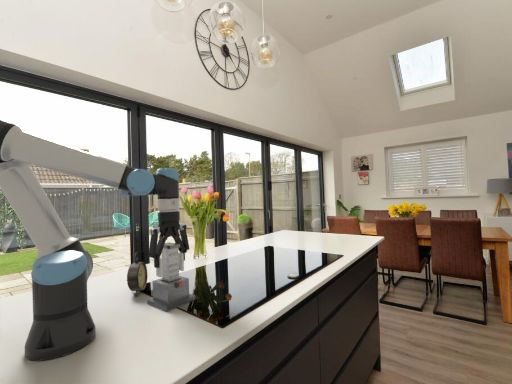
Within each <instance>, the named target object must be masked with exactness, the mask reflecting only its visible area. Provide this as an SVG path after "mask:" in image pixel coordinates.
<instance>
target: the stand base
mask: <svg viewBox="0 0 512 384" xmlns="http://www.w3.org/2000/svg"><path fill="white" fill-rule="evenodd" d="M194 301H196V295H194V294H192V293H190V279H189V277H186V276H185V277H184V276H181V275H179V280H177V281H174V282H171V283H166V282H163V281H162V277H160V278H158V279H154V280H152V297H151V298H150V297H149V298H147V299H146V304H147V305H149V306H151V307H154V308H155V309H159V310H161V311H163V312H166V313H167V312H170V311H173V310H175V309H177V308H179V307H181V306H184V305H186V304H188V303H191V302H194Z"/></svg>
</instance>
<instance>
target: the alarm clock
mask: <svg viewBox="0 0 512 384" xmlns="http://www.w3.org/2000/svg"><path fill="white" fill-rule="evenodd" d="M138 254H139V252H137V251H136V252H135V254H134V261H135V262H133V263H131V264H130V266H129V267H128V269H127V274H126V283H127V286H128V289H129V290H130V291H131V293H133V292H135V297H138V294H139V292H140V291H144V290H146V289H145V288H146V286H147V284H148V268H147V264H146V263H145V262H144V261H139V260H138V258H139V255H138ZM138 261H139V262H138Z"/></svg>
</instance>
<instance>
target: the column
mask: <svg viewBox="0 0 512 384" xmlns="http://www.w3.org/2000/svg"><path fill="white" fill-rule="evenodd" d="M179 247H180V244H177V243H175V242H165V244H164V247H163V250H162V253H161V258H162V269H163V277H161V278H162V281H163V282H166V283H171V282H174V281H177V280H179V276H180V270H179V254H178V253H179V250H178V248H179Z"/></svg>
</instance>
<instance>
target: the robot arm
mask: <svg viewBox="0 0 512 384" xmlns="http://www.w3.org/2000/svg"><path fill="white" fill-rule="evenodd" d="M31 166H36V167H39V168H43V169H46V170H50V171H54V172H56V173H57V172H58V173H60V174H64V175H67V176H72V177H73V178H78V179H82V180H85V181H89V182H92V183H96V184H99V185H103V186H106V187H110V188H114V189H117V190H119V193H120V194H119V195H120V196H124V197H125V196H127V197H134V196H136V197H137V196H157V210H158V211H159V212H158V213H157V221H158V226H157V227H156V228H150V230H149V231H150V240H149V241H150V242H149V249H148V255H147V256H148V258H153V266H154V267H153V268H155V272H156V273H155V274H156V275H155V276H156V277H158V278H162V277H163V269H162V250H163V247H164V244H165V243H167V242H166V241H168V238H170V237H171V238H173V241H174V243H177V244H180V247H179V248H178V254H179V272H181V271H182V272H184V270H185V263H184V262H185V261H186V253H188V251H189V250H190V243H189V240H188V234H187V228H188V227H187V225H186V224H180V221H181V217H180V211H179V210H180V185H179V184H180V180H179V172H178V170H177V169H176V168H172V167H171V168H168V167H164V168H163V167H162V168H158V169H157V170H156V173H151V172H150V171H149V170H147V169H144V168H137V167H134V166H131V165H126V164H125V163H121V162H118V161H115V160H112V159H109V158H106V157H102V156H101V155H96V154H94V153H90V152H88V151H85V150H81V149H78V148H76V147H73V146H70V145H66V144H63V143H60V142H57V141H53V140H51V139H47V138H44V137H41V136H38V135H36V134H32V133H30V132H26V131H25V130H24V129H23V127H22V126H20V125H18V124H16V123H12V122H9V121H7V120H4V119H1V118H0V190H1V192H2V193H3V195H4V196H5V198H6V200H7V201H8V203H9V205H10V206H11V208H12V210H13V212H14V213H15V215H16V216H17V219H19V221H20V223H21V224H22V226H23V228H24V230H25V232H26V234H27V235H28V237H29V239H30V240H31V241H32V243H33V245H34V246H35V249H36V250H37V253H36V256H35V259H34V262H33V264H32V268H31V273H30V274H31V282H32V283H31V285H32V287H31V288H32V291H31V293H32V314H33V315H32V323H31V326H30V329H29V332H28V335H27V338H26V341H25V343H24V357H25V358H26V359H28V360H30V361H47V360H52V359H57V358H60V357H64V356H67V355H70V354H72V353H74V352H77V351H78V350H81V349H83V348H85V346H87V345H88V344H90V343H91V342H92V341H93V340H94V339H95V337H96V334H97V333H96V328H97V327H96V324H95V322H94V320H93V318H92V315H91V313H90V310H89V307H88V280H89V278H90V276H91V275H92V271H93V270H94V261H93V260H94V259H93V257H92V255H91V254H90V253H89V251H87V250H86V249H85V248H84V246H83V245H82V243H81V241H80V240H79V238H78V237H73V236H71V235H70V233H69V232H68V230H67V228H66V226H65V225H64V223H63V221H62V219H61V218H60V215H58V212H57V210H56V209H55V207H54V206H53V203H52V202H51V200H50V198H49V197H48V195H47V193H46V191H45V190H44V188H43V186H42V185H41V183H40V181H39V180H38V178H37V176H36V175H35V173H34V170H33V169H32V167H31Z"/></svg>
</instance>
